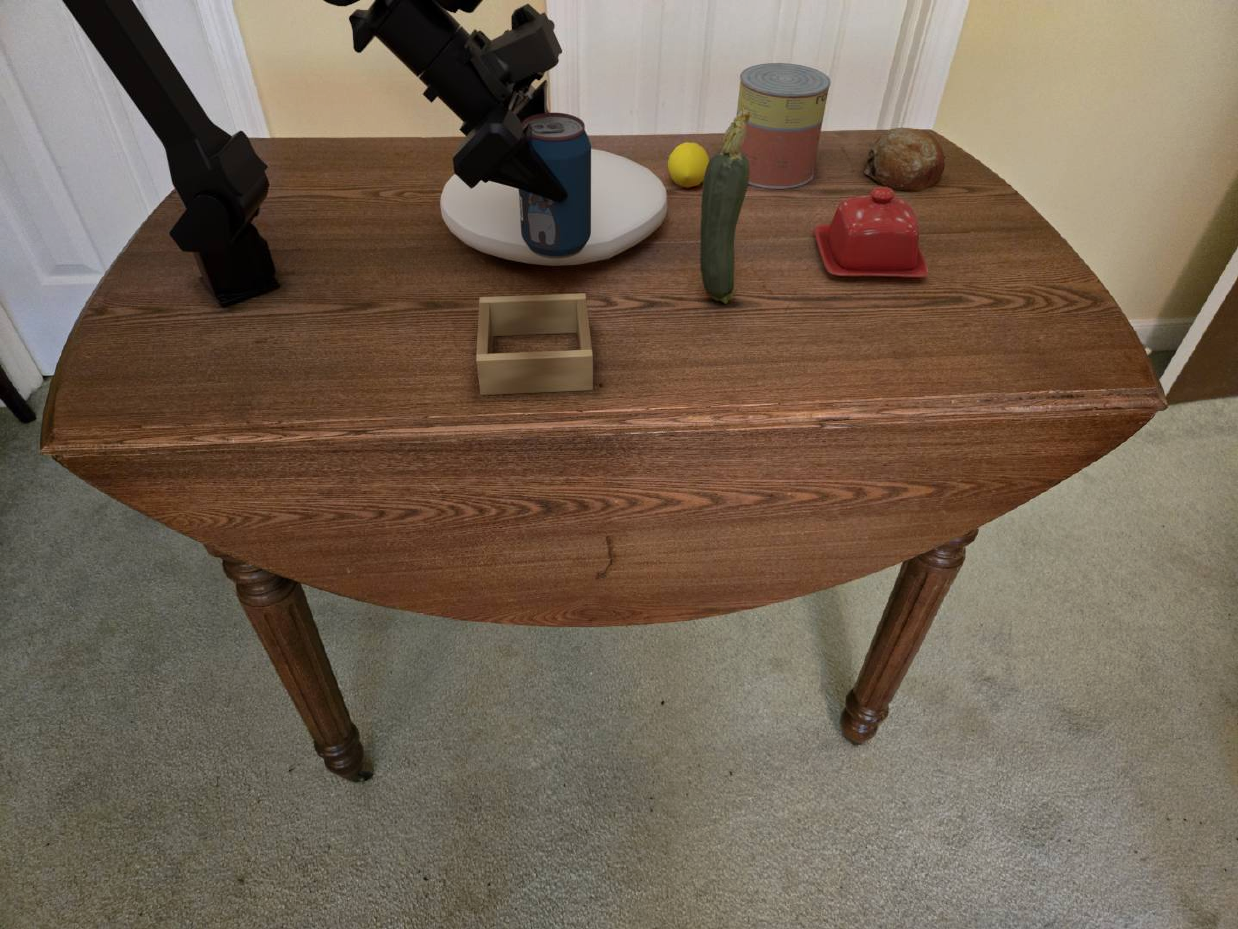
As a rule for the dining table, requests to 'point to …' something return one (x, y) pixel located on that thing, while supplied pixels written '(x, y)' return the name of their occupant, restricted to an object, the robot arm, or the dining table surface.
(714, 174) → the vegetable
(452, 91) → the robot arm
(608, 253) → the plate
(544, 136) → the soda can
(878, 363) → the dining table surface
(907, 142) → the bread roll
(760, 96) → the canned food
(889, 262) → the butter dish
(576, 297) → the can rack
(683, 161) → the lemon
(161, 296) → the dining table surface
